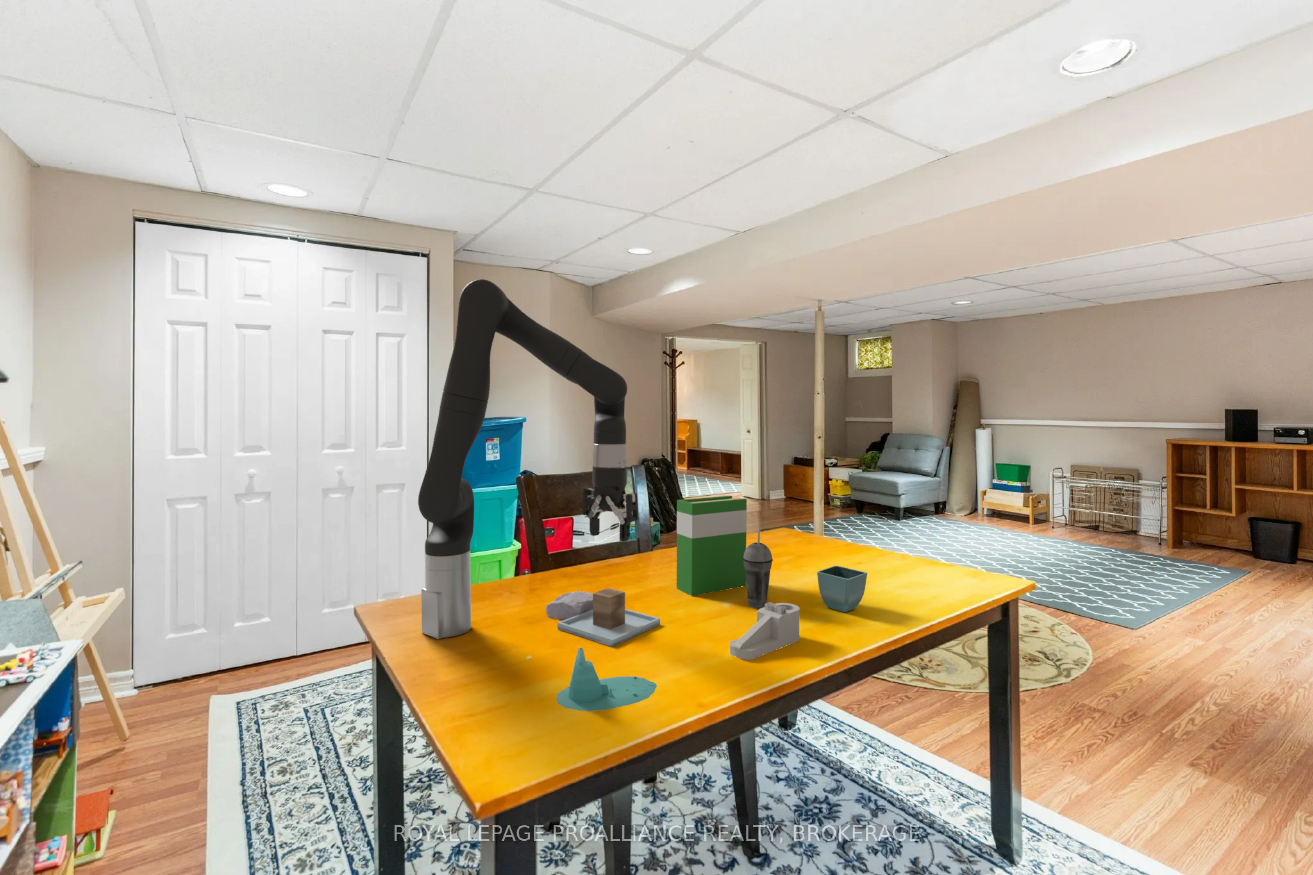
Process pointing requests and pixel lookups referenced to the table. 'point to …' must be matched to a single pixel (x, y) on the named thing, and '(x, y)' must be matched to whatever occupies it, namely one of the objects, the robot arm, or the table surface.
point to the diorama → (601, 689)
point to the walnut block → (608, 608)
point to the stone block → (570, 605)
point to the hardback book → (711, 544)
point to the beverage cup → (757, 573)
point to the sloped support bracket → (768, 631)
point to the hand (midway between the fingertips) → (609, 537)
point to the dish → (615, 636)
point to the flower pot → (841, 587)
